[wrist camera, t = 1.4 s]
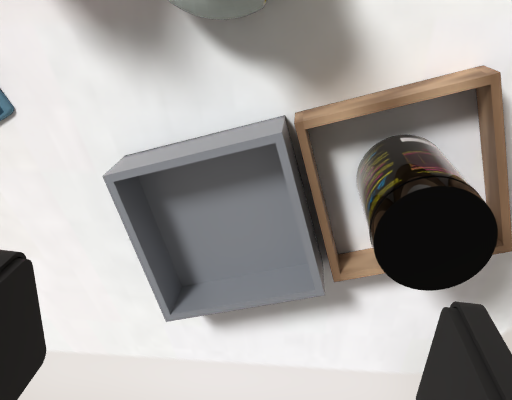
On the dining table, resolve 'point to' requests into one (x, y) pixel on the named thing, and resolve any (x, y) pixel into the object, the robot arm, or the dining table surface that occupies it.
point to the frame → (477, 77)
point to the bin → (220, 221)
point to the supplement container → (423, 215)
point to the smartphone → (5, 106)
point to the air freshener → (219, 7)
